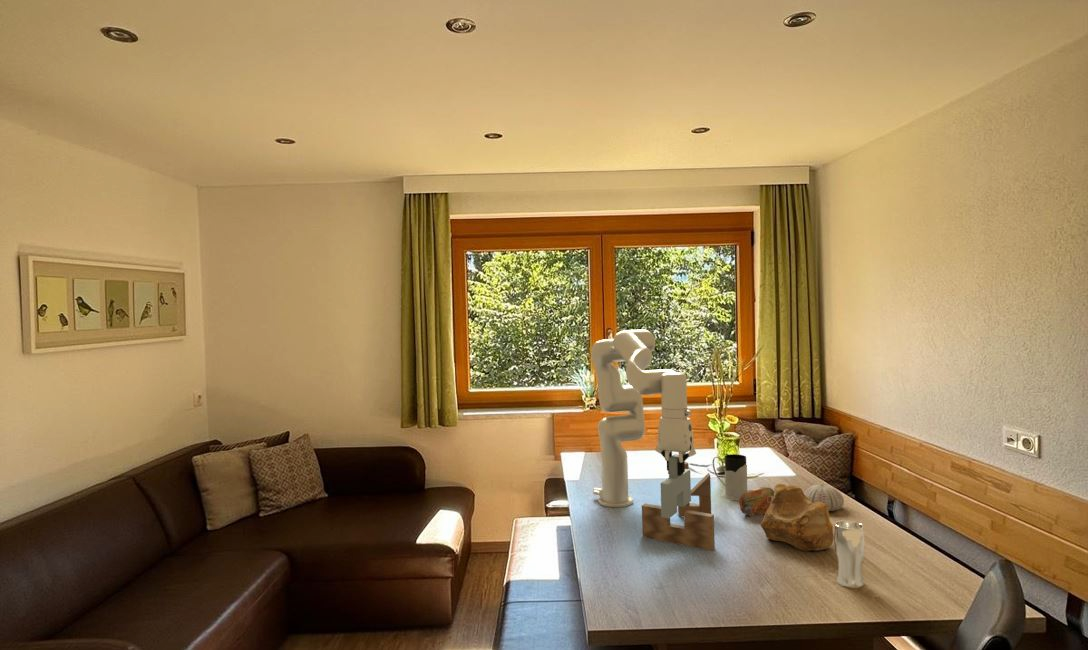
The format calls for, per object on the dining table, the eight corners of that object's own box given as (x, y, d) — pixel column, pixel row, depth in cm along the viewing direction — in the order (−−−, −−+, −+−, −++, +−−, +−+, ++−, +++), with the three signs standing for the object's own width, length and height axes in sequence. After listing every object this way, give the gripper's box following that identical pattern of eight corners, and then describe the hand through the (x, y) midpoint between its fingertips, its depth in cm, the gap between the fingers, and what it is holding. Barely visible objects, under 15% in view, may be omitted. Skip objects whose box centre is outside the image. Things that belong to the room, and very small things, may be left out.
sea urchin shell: (800, 511, 216) (799, 488, 216) (804, 499, 228) (803, 477, 228) (843, 516, 210) (842, 492, 209) (844, 504, 222) (844, 481, 221)
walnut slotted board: (642, 537, 196) (641, 505, 196) (645, 534, 198) (644, 503, 198) (712, 550, 184) (711, 516, 184) (714, 547, 186) (713, 514, 186)
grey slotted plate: (683, 499, 199) (682, 449, 198) (690, 501, 198) (689, 450, 197) (661, 517, 184) (660, 462, 183) (669, 518, 183) (667, 463, 182)
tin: (744, 518, 210) (744, 493, 210) (737, 515, 213) (737, 491, 213) (777, 510, 217) (776, 486, 217) (770, 508, 220) (769, 484, 220)
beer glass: (829, 577, 164) (828, 520, 163) (855, 576, 164) (854, 519, 164) (844, 589, 157) (843, 530, 156) (871, 588, 157) (870, 528, 157)
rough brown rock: (746, 532, 200) (742, 486, 199) (794, 523, 203) (790, 478, 201) (787, 564, 177) (783, 512, 176) (840, 553, 180) (836, 502, 179)
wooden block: (711, 517, 213) (710, 464, 212) (679, 516, 214) (677, 464, 213) (710, 513, 216) (708, 461, 216) (678, 513, 218) (676, 461, 217)
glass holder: (740, 502, 227) (739, 460, 227) (706, 494, 238) (706, 454, 237) (753, 496, 233) (752, 456, 233) (720, 489, 244) (719, 450, 243)
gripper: (704, 413, 189) (706, 474, 189) (654, 409, 197) (655, 468, 198) (696, 417, 182) (697, 480, 183) (644, 413, 191) (646, 473, 192)
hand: (675, 473), depth 190 cm, fingers closed on grey slotted plate, 2 cm apart
